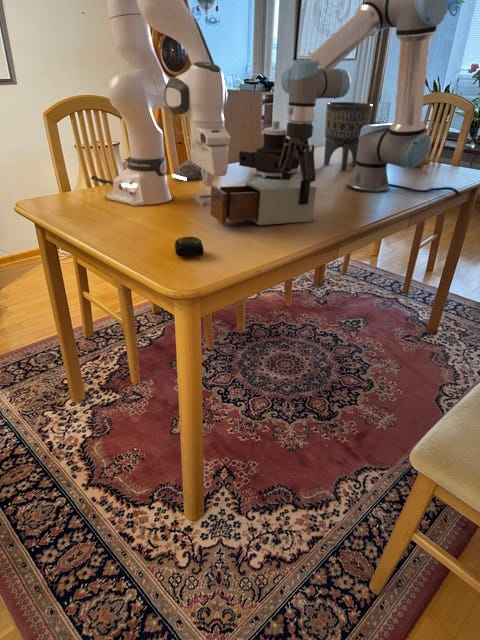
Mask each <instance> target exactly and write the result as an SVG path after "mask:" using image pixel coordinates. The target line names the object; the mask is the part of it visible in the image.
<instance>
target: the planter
mask: <svg viewBox="0 0 480 640" xmlns="http://www.w3.org/2000/svg"><path fill="white" fill-rule="evenodd" d="M373 107H374V106H373V104H372V103H367V102H353V101H333V102H327V103H326V109H325V124H324V125H325V126H324V139H325V144H324V156H323V157H324V158H323V165H325V166H328V165H330V163H331V158H332V156H333V154H334V153H335V151H336V150H337V149H340V148H341V150H342V153H341V166H340V170H341V172H345V171H347V167H348V166H347V165H348V159H349V152H350V154H351V157H352V158H351V159H352V160H351V161H352V166H353V167H355V165H356V158H357V150H358V142H359V136H360V132H361V128H362V127H363V126H365V125H370V121H371V116H372V112H373Z"/></svg>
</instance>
